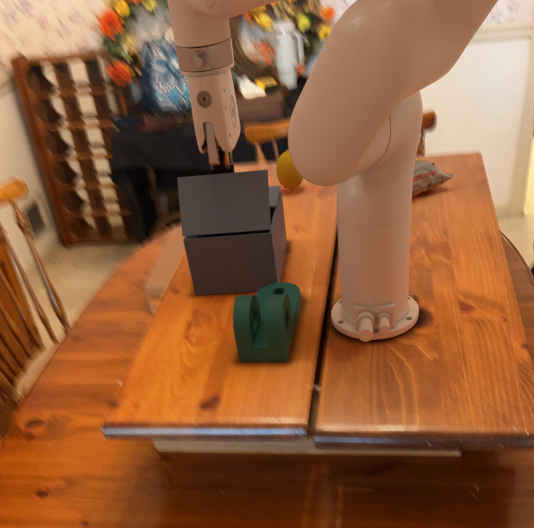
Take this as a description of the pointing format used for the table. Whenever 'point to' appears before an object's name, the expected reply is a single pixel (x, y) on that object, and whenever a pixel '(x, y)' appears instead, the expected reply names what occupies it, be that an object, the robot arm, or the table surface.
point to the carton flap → (224, 203)
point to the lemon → (287, 172)
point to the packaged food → (427, 177)
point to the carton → (239, 255)
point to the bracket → (266, 322)
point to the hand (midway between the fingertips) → (226, 193)
